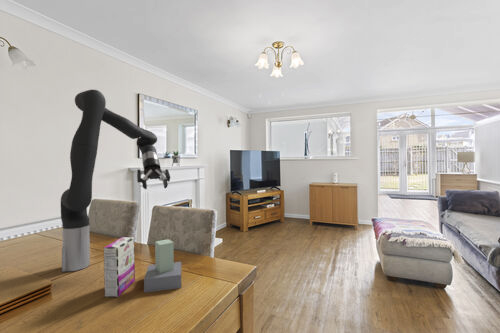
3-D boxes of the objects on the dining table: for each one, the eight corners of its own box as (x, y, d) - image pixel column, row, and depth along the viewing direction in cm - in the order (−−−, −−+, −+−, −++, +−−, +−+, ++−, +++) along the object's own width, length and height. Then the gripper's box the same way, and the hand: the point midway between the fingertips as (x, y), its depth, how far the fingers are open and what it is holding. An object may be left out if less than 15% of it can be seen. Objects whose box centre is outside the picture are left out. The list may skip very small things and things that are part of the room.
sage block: (159, 273, 86) (159, 245, 86) (155, 268, 90) (155, 241, 90) (173, 269, 89) (173, 242, 89) (168, 265, 93) (168, 239, 93)
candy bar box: (121, 281, 90) (121, 236, 90) (135, 281, 90) (135, 236, 90) (103, 297, 79) (102, 247, 79) (118, 297, 79) (118, 247, 79)
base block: (144, 293, 82) (144, 279, 82) (148, 278, 93) (148, 265, 93) (181, 289, 85) (181, 274, 85) (181, 274, 97) (181, 261, 97)
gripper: (136, 156, 114) (139, 182, 104) (167, 157, 121) (173, 181, 112) (134, 168, 118) (138, 193, 109) (164, 167, 126) (170, 192, 116)
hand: (156, 187), depth 110 cm, fingers open, 8 cm apart
